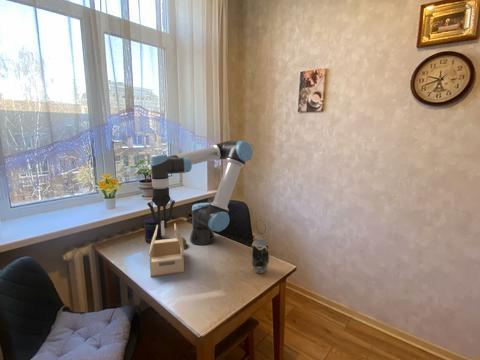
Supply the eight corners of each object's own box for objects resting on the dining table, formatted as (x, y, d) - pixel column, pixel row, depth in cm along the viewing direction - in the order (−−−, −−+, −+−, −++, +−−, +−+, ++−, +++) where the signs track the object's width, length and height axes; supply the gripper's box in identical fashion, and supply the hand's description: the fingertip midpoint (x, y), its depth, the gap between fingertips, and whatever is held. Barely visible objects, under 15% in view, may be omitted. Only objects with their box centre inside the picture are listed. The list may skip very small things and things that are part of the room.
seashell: (183, 256, 143) (192, 245, 147) (181, 251, 137) (190, 239, 141) (170, 248, 146) (179, 237, 150) (167, 243, 140) (177, 232, 145)
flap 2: (174, 234, 115) (175, 233, 115) (174, 223, 130) (175, 223, 130) (183, 252, 117) (184, 251, 118) (181, 239, 132) (182, 239, 132)
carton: (181, 252, 138) (181, 237, 137) (184, 276, 115) (183, 257, 113) (153, 256, 134) (152, 240, 133) (150, 280, 111) (148, 262, 109)
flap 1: (157, 225, 128) (157, 224, 127) (156, 236, 113) (155, 235, 113) (152, 243, 128) (151, 242, 128) (149, 256, 114) (148, 256, 113)
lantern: (248, 268, 122) (248, 219, 118) (260, 263, 126) (261, 215, 123) (260, 275, 115) (260, 223, 111) (272, 270, 120) (273, 220, 116)
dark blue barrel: (165, 242, 153) (164, 218, 151) (152, 247, 145) (151, 223, 142) (155, 238, 158) (153, 216, 156) (141, 244, 150) (140, 220, 148)
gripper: (174, 185, 123) (176, 230, 127) (146, 186, 119) (149, 233, 123) (175, 187, 116) (176, 235, 119) (145, 189, 112) (148, 238, 116)
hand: (163, 234), depth 121 cm, fingers closed
